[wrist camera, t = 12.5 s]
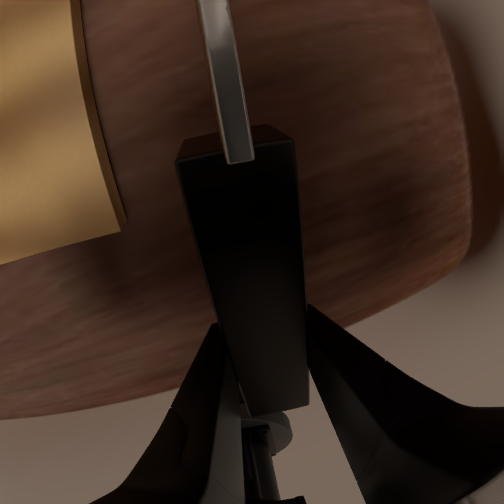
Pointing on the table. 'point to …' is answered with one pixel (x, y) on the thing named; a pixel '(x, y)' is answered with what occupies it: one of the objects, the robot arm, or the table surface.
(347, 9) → the table surface
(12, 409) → the table surface
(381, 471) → the robot arm
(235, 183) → the knife
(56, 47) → the board
